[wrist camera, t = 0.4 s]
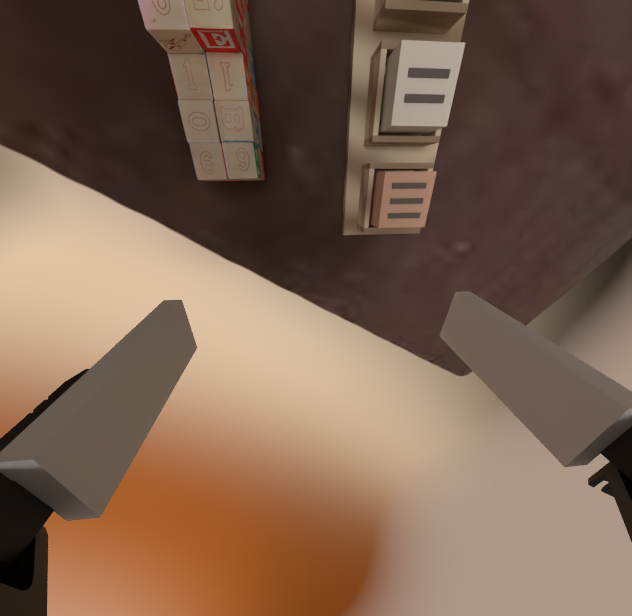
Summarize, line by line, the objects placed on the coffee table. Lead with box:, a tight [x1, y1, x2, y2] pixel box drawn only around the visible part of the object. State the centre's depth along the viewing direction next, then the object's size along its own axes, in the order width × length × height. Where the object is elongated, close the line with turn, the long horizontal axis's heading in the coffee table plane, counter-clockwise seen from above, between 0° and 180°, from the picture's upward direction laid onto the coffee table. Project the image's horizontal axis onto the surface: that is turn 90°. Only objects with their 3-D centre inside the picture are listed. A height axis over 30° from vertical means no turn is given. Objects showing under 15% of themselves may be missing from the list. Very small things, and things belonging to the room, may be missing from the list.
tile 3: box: [370, 171, 437, 228], centre depth 28 cm, size 6×6×4 cm
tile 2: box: [379, 40, 465, 133], centre depth 23 cm, size 6×6×4 cm
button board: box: [342, 0, 469, 235], centre depth 26 cm, size 30×12×5 cm, turn 0°
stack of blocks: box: [138, 0, 266, 181], centre depth 20 cm, size 21×6×12 cm, turn 1°
